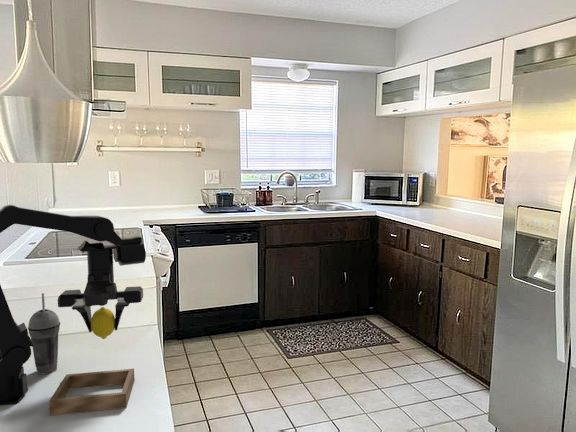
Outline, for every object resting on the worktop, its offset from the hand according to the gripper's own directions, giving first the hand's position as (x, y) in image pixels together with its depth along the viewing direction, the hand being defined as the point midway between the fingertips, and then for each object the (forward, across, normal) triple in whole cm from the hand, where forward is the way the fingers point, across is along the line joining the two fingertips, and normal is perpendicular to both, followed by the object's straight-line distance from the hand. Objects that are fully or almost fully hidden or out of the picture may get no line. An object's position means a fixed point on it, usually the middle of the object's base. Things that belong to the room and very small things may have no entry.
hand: (103, 330), depth 113 cm
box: (+11, 0, -12) cm, 16 cm away
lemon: (+2, 0, 0) cm, 2 cm away
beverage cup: (+11, -15, +5) cm, 19 cm away
